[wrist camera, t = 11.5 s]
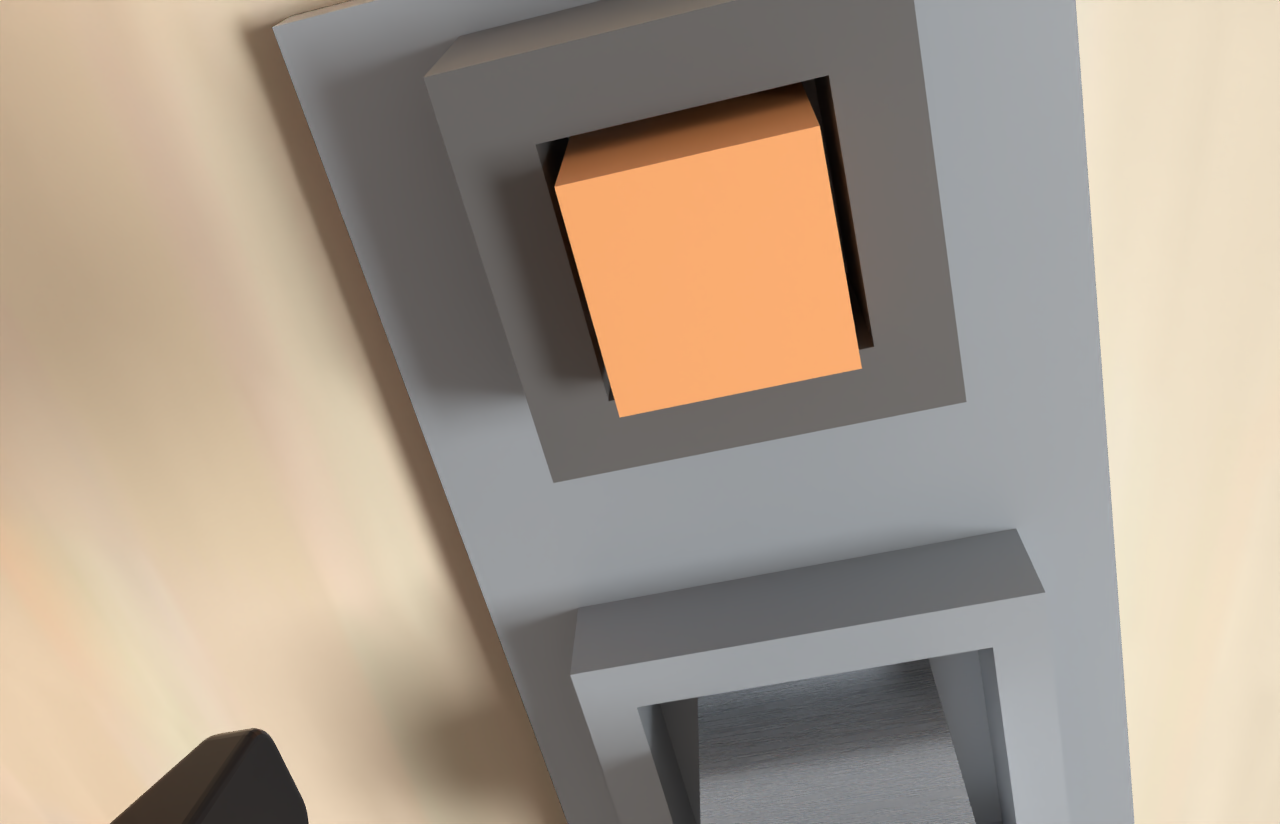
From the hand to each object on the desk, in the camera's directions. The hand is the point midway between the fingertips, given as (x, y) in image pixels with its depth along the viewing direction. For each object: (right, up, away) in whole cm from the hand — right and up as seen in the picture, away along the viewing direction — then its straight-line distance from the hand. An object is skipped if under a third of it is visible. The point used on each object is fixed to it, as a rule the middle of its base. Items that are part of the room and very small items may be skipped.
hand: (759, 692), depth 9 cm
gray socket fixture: (+2, -1, +15) cm, 15 cm away
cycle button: (0, +5, +10) cm, 11 cm away
